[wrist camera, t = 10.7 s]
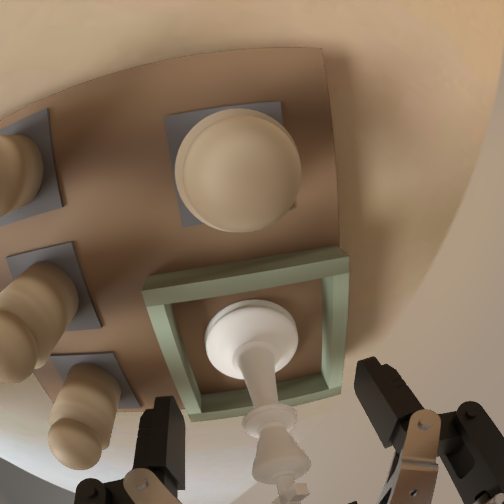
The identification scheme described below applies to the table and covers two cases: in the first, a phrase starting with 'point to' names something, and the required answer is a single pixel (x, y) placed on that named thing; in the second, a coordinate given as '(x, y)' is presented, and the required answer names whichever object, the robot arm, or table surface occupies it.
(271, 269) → the pawn tray
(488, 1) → the table surface
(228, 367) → the chess piece
